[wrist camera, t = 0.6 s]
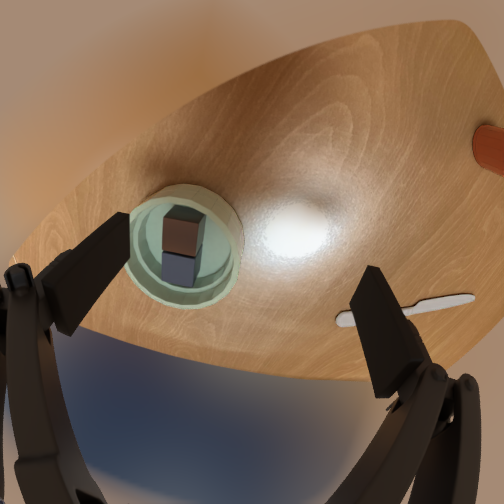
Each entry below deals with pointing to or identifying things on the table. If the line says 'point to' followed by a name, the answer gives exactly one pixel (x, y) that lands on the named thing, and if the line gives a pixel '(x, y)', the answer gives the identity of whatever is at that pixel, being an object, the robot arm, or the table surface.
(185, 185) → the bowl
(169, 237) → the block
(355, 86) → the table surface
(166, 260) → the block
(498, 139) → the holder
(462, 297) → the butter knife
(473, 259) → the table surface
